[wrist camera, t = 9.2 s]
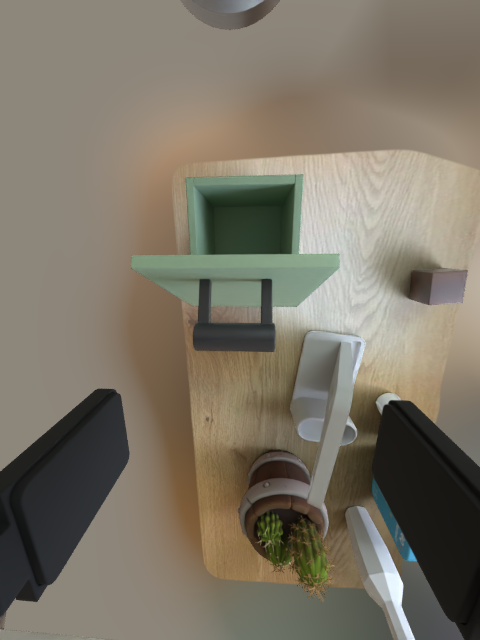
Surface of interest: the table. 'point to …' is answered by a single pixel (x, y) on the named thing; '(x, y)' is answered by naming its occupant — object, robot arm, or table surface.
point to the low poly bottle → (377, 570)
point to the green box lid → (237, 290)
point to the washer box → (244, 214)
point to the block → (438, 286)
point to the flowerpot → (286, 518)
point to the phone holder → (325, 400)
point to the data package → (392, 524)
